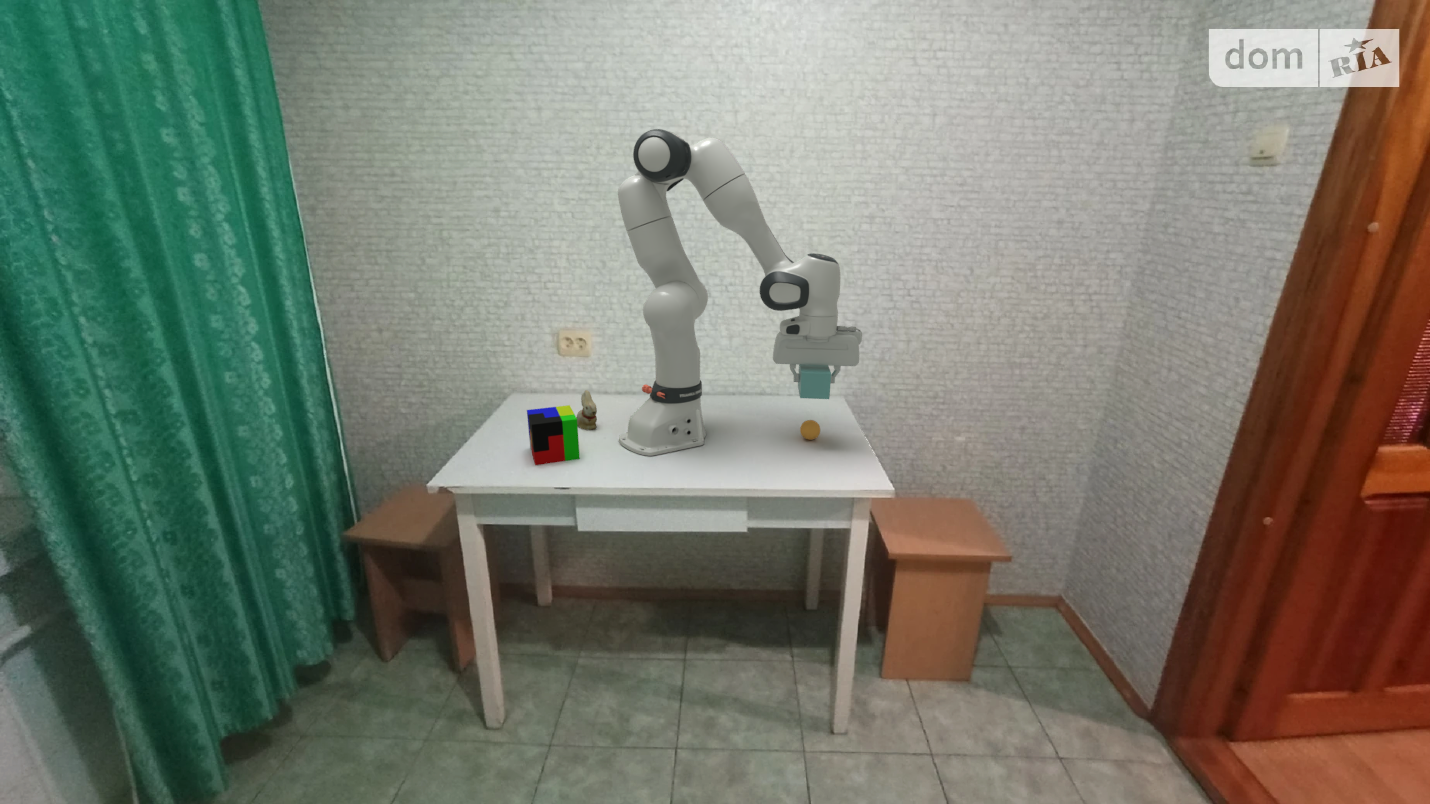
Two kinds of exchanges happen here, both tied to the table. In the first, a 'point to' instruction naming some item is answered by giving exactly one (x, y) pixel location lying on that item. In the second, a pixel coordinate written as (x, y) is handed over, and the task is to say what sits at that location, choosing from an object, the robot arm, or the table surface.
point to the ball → (810, 429)
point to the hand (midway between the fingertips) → (813, 382)
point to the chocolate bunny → (587, 412)
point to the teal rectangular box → (814, 381)
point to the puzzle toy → (553, 434)
